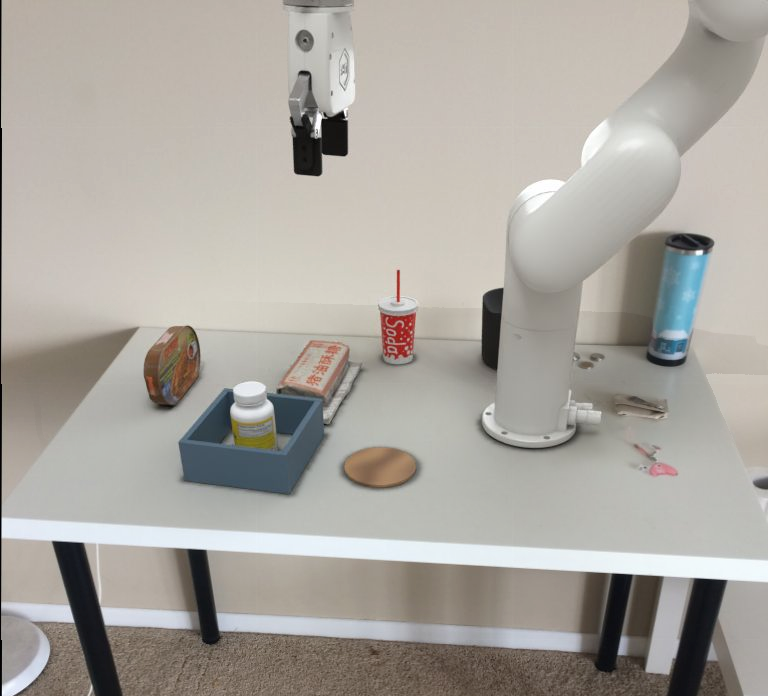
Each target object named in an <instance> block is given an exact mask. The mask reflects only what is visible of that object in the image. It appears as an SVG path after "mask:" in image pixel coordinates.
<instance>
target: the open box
mask: <svg viewBox="0 0 768 696" xmlns="http://www.w3.org/2000/svg"><path fill="white" fill-rule="evenodd" d="M233 389H234V388H229V387H227V388H226V387H225V388H223V390H221V392H220V393H219V394H218V395H217V396H216V397H215V399H214V400H213V401H212V402H211V403H210V405H209V406H208V407H207V408H206V409H205V411H203V412H202V413H201V415H200V416H199V417H198V418H197V420H196V421H195V422H193V424H192V425H191V427H190V428H189V429H188V430H187V431H186V432H185V434H184V435H183V436H182V437H181V438H180V439H179V440H178V442H177V443H178V449H179V456H180V461H181V468H182V473H183V480H184V481H185V482H194V483H201V484H208V485H209V484H210V485H214V486H215V485H216V486H223V487H231V488H238V489H244V490H245V489H246V490H247V489H248V490H253V491H254V490H255V491H261V492H268V493H277V494H283V495H290V494H291V492H292V491H293V489H294V487H295V485H296V483H297V482H298V480H299V479H300V477H301V475H302V474H303V472H304V470H305V468H306V467H307V465H308V464H309V462H310V460H311V458H312V457H313V455H314V454H315V452H316V451H317V448H318V447H319V445H320V444H321V442H322V440H323V438H324V436H325V425H324V420H323V401H322V399H320V398H311V397H302V396H292V395H283V394H274V393H272V392H266V394H267V399H268V400H269V401H270V402H271V403H272V404H273V407H274V415H275V425H276V434H286V435H291V437H290V438H289V440H288V441H287V443H286V445H285V446H284V448H283V449H282V450H278V451H276V450H267V449H259V448H251V447H243V446H235V444H226V443H221V442H223V440H224V439H225V438H226V437H227V435H228V434H229V432H230V431H231V429H232V422H231V415H230V409H231V406H232V405H233V404H234V403H235V401H234V394H233Z"/></svg>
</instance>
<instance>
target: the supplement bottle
mask: <svg viewBox="0 0 768 696" xmlns="http://www.w3.org/2000/svg"><path fill="white" fill-rule="evenodd" d="M232 389H233V394H234V401H235V403H234V404H233V405H232V406H231V409H230V415H231V422H232V428H231V429H232V436H233V445H235V446H243V447H251V448H259V449H267V450H276V451H279V446H278V445H279V443H278V436H277V434H278V433H276V425H275V415H274V407H273V404H272V403H271V402H270V401H269V400H268V399H267V394H266V393H267V387H266V385H265V384H264V383H262V382H260V381H254V380H253V381H251V380H250V381H244V382H241V383H238V384H236V385H235V386H234V387H233V388H232Z"/></svg>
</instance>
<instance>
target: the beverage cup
mask: <svg viewBox="0 0 768 696" xmlns="http://www.w3.org/2000/svg"><path fill="white" fill-rule="evenodd" d="M377 302H378V303H377V307H378V311H379V317H380V332H381V343H382V344H381V345H382V359H383V361H384V362H386V363H388V364H391V365H405V364H408V363H411V362H412V361H413V357H414V356H413V355H414V345H415V332H416V319H417V311H419V301H418V300H417V299H416V298H413V297H411V296H406V295H401V270H400V269H396V295H389V296H385V297H382V298H380V299H379V300H378V301H377Z"/></svg>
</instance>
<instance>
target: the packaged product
mask: <svg viewBox="0 0 768 696" xmlns="http://www.w3.org/2000/svg"><path fill="white" fill-rule="evenodd" d="M350 351H351V350H350V347H349V345H347V344H345V343H343V342H341V341H329V340H317V339H312V340H309V342H308V344H307V345H306V346H305V347H304V348H303V350H302V352H300V354H299V355H298V356H297V358H296V359H295V361H294V363H293V364H292V365H291V367H290V368H289V369H288V370H287V371H286V373H285V375H283V377H282V378H281V380H280V381H279V383H278V384H277V385H276V386H275V388H274V390H273V391H272V392H271V393H274V394H283V395H292V396H302V397H311V398H320V399H322V401H323V420H324V424H325V425H330V423H331V421H332V419H333V418H334V416H335V414H336V412H337V410H338V408H339V406H340V405H341V403H342V402H343V400H344V399H345V398H346V396H347V395H348V393H350V391H351V389H352V385H353V383H354V381H355V379H356V378H357V376H358V374H359V372H360V370H361V368H362V366H363V363H362V362H355V361H349V357H350Z"/></svg>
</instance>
